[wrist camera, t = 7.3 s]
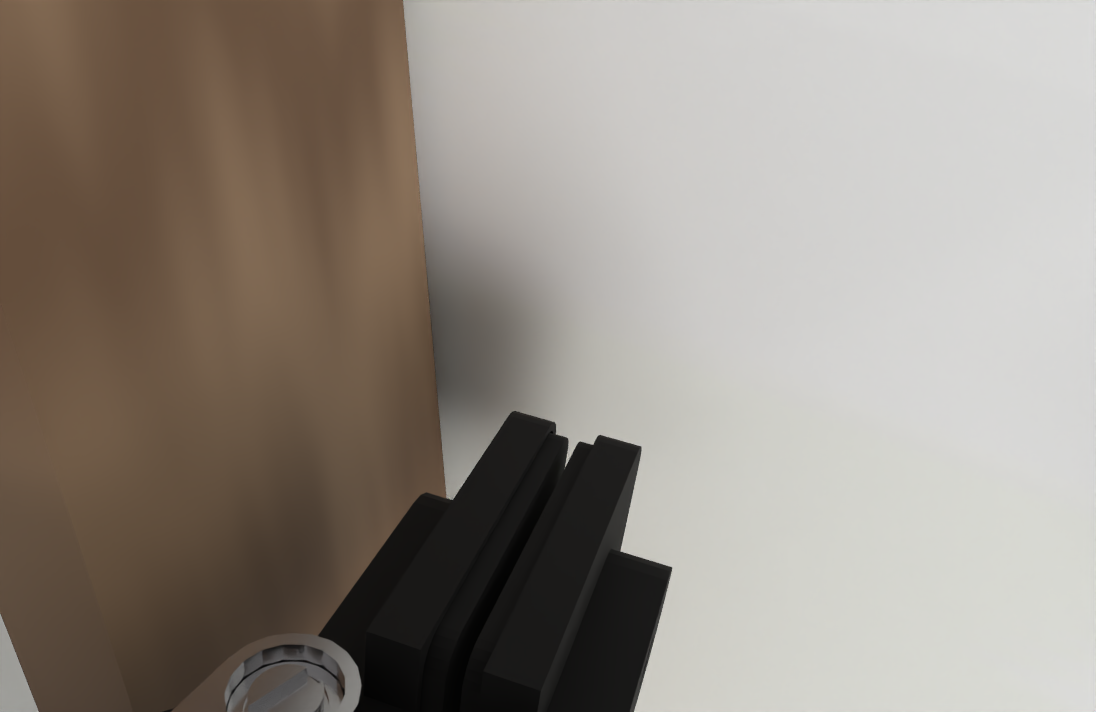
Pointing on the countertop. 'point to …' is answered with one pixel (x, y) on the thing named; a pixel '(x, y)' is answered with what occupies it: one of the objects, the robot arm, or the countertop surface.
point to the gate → (202, 331)
